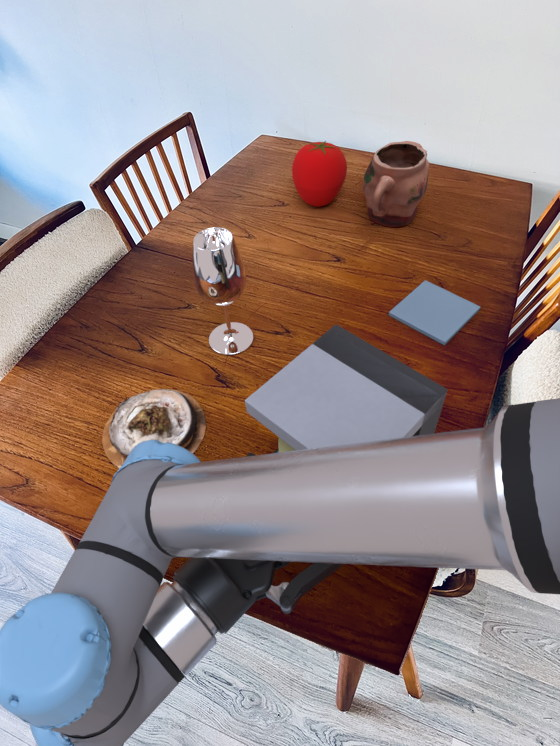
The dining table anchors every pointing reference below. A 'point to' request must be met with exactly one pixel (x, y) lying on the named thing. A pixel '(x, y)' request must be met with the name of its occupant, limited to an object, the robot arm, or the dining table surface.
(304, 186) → the tomato
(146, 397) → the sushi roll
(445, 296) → the plate
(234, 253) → the wineglass
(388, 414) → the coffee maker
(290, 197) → the dining table surface
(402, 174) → the pink ceramic mug
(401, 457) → the robot arm
